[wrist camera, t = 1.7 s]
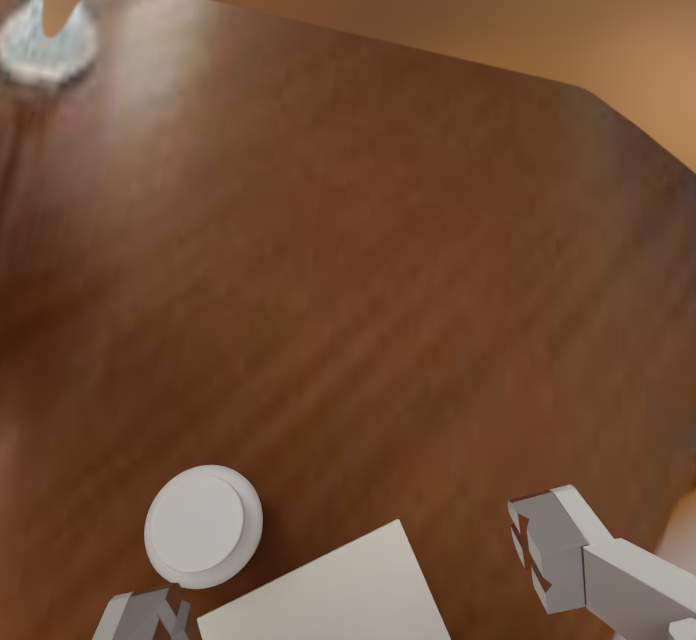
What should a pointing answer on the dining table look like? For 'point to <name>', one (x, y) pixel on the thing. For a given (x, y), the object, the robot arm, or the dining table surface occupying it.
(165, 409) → the dining table surface
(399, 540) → the off-white mat
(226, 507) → the supplement bottle
